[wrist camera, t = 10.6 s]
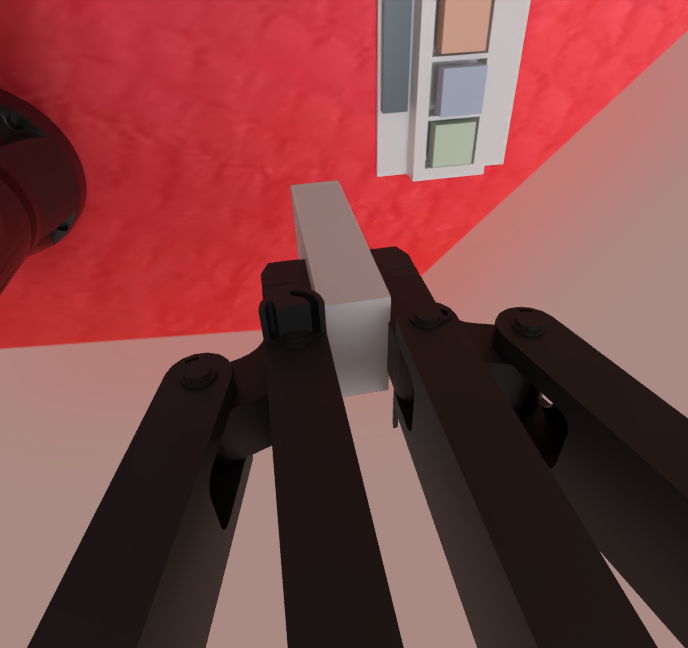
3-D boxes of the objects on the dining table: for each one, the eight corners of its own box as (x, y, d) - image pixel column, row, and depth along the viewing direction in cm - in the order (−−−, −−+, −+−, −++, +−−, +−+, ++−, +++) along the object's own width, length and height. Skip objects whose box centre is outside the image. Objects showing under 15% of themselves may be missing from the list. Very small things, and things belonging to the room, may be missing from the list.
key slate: (431, 110, 46) (440, 117, 44) (434, 63, 44) (444, 68, 42) (471, 106, 47) (481, 113, 45) (476, 60, 44) (488, 65, 42)
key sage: (425, 159, 50) (432, 167, 48) (427, 118, 47) (436, 125, 46) (461, 155, 50) (470, 163, 48) (466, 115, 48) (476, 122, 46)
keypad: (376, 174, 51) (382, 184, 49) (377, -102, 37) (385, -105, 35) (500, 161, 53) (512, 170, 50) (544, -107, 39) (563, -111, 37)
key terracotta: (432, 49, 44) (441, 54, 42) (436, -4, 41) (445, -2, 39) (474, 46, 44) (485, 50, 42) (480, -7, 42) (492, -5, 40)
